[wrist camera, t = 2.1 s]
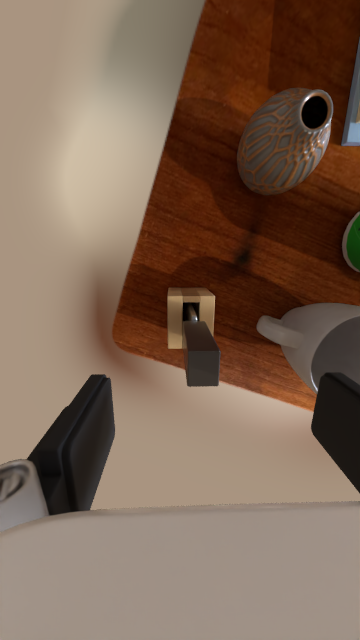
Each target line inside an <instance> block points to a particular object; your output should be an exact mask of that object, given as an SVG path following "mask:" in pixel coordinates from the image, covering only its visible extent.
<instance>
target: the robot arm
mask: <svg viewBox="0 0 360 640" xmlns="http://www.w3.org/2000/svg"><path fill="white" fill-rule="evenodd" d="M311 429H312V433H313V435H314V436H315V437H316V439H317V440H318V441H319V443H320V444H321V445H322V446H323V448H324V449H325V450H326V451H327V453H328V454H329V455H330V456H331V458H332V459H333V460H334V461H335V463H336V464H337V465H338V466H339V468H340V469H341V470H342V471H343V473H344V474H345V475H346V476H347V478H348V479H349V480H350V482H351V483H352V484H353V485H354V487H355V488H356V489H357V490H358V492H359V493H360V385H359V384H358V383H356V382H355V381H353V380H352V379H350V378H349V377H347V376H346V375H344V374H343V373H341V372H326V373H325V374H324V375H323V376H321V378H320V382H319V387H318V393H317V398H316V403H315V408H314V414H313V419H312V424H311ZM114 435H115V424H114V413H113V401H112V390H111V380H110V378H106V375H91V376H90V377H89V379H88V380H87V381H86V383H85V384H84V385H83V387H82V388H81V390H80V391H79V392H78V394H77V395H76V397H75V398H74V399H73V401H72V402H71V403H70V405H69V406H67V407H65V409H63V411H62V412H61V413H60V415H59V416H58V417H57V419H56V420H55V422H54V423H53V424H52V426H51V427H50V428H49V430H48V431H47V432H46V434H45V435H44V436H43V438H42V439H41V440H40V442H39V443H38V444H37V446H36V447H35V449H34V450H33V451H32V453H31V454H30V455H29V457H28V458H27V459H18V460H13V461H9V462H7V463H4V464H2V465H0V640H360V501H349V502H306V503H305V502H304V503H303V502H302V503H263V504H229V505H228V504H225V505H196V506H195V505H194V506H163V507H162V506H161V507H139V508H120V509H99V510H90V508H91V505H92V502H93V499H94V496H95V493H96V490H97V487H98V484H99V481H100V478H101V475H102V472H103V469H104V466H105V463H106V460H107V457H108V455H109V452H110V449H111V446H112V442H113V440H114Z"/></svg>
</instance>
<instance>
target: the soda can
mask: <svg viewBox="0 0 360 640" xmlns="http://www.w3.org/2000/svg"><path fill="white" fill-rule="evenodd" d="M342 250H343V256H344V258H345V260H346V262H347V264H348V265H349V266H350V267H351V268H352V269H354V270H355V271H357V272H360V211H359V212H358V213H357V214H356V215H355V216H354V217H353V219H352V220H351V221H350V222H349V224H348V226H347V228H346V231H345V233H344V235H343V242H342Z"/></svg>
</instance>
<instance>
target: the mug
mask: <svg viewBox="0 0 360 640" xmlns="http://www.w3.org/2000/svg"><path fill="white" fill-rule="evenodd" d="M256 327H257V331H258V332H259V333H260V334H262V335H263V336H265V337H266V338H268V339H270V340H271V341H273V342H275V343H278V344H281V348H282V351H283V353H284V355H285V357H286V359H287V361H288V362H289V364H290V365H291V367H292V368H293V370H294V371H295V372H296V373H297V375H298V376H299V377H300V378H301V379H302V380H303V381H304V382H305V383H306V384H307V385H308V386H309V387H310V388H311V389H312V390H313V391H314V392H315V393H316V394H317V393H318V387H319V382H320V378H321V376H323V375H324V374H325V373H326V372H341V373H343V374H344V375H346V376H347V377H349V378H350V379H352V380H353V381H355V382H356V383H358V384H359V385H360V306H355V305H349V304H341V303H316V304H310V305H306V306H303V307H298V308H294V309H292V310H290V311H288V312H287V313H286V314H285V315H284V316H283V317H282V318H281V320H279V319H276V318H272V317H270V316H262V317H261V318H260V319H259V321H258V323H257V326H256Z"/></svg>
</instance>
